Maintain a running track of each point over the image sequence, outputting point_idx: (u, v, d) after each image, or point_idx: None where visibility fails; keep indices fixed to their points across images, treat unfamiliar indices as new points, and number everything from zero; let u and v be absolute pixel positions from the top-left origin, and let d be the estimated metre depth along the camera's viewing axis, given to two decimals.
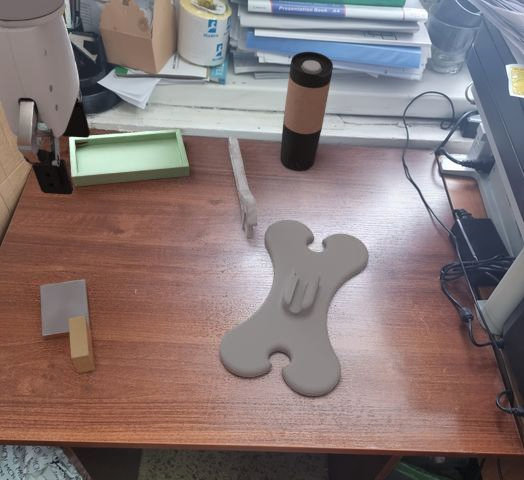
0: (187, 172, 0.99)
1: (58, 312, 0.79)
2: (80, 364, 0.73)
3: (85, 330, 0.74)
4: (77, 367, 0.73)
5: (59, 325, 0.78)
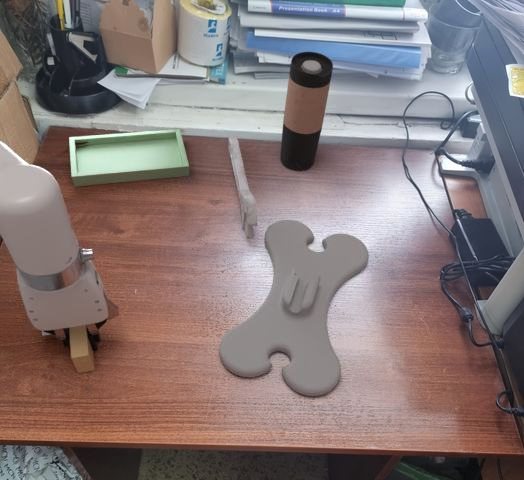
0: (187, 172, 0.99)
1: None
2: (80, 364, 0.73)
3: (85, 330, 0.74)
4: (77, 367, 0.73)
5: None
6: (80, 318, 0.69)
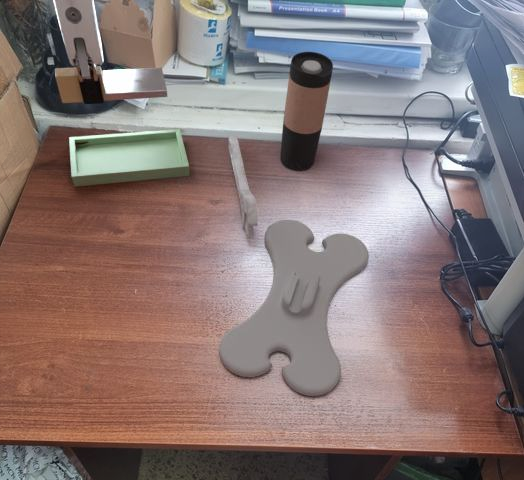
0: (187, 172, 0.99)
1: (127, 77, 0.85)
2: None
3: None
4: None
5: (111, 78, 0.85)
6: None
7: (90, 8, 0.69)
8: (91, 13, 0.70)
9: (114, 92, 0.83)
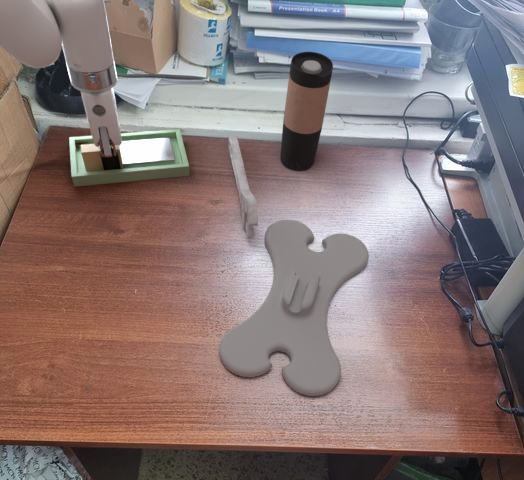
0: (187, 172, 0.99)
1: (140, 147, 1.00)
2: None
3: None
4: None
5: (127, 149, 1.00)
6: None
7: (112, 104, 0.84)
8: (113, 108, 0.85)
9: (130, 162, 0.98)
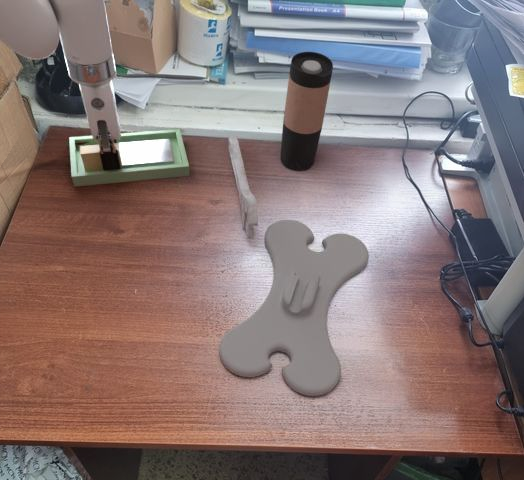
0: (187, 172, 0.99)
1: (140, 149, 1.00)
2: None
3: None
4: None
5: (126, 150, 1.00)
6: None
7: (111, 97, 0.83)
8: (112, 101, 0.83)
9: (129, 163, 0.98)
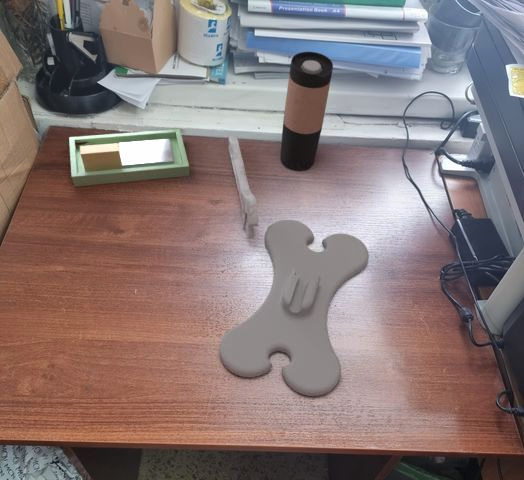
0: (187, 172, 0.99)
1: (140, 149, 1.00)
2: None
3: (104, 151, 0.94)
4: None
5: (126, 150, 1.00)
6: None
7: None
8: None
9: (129, 163, 0.98)
